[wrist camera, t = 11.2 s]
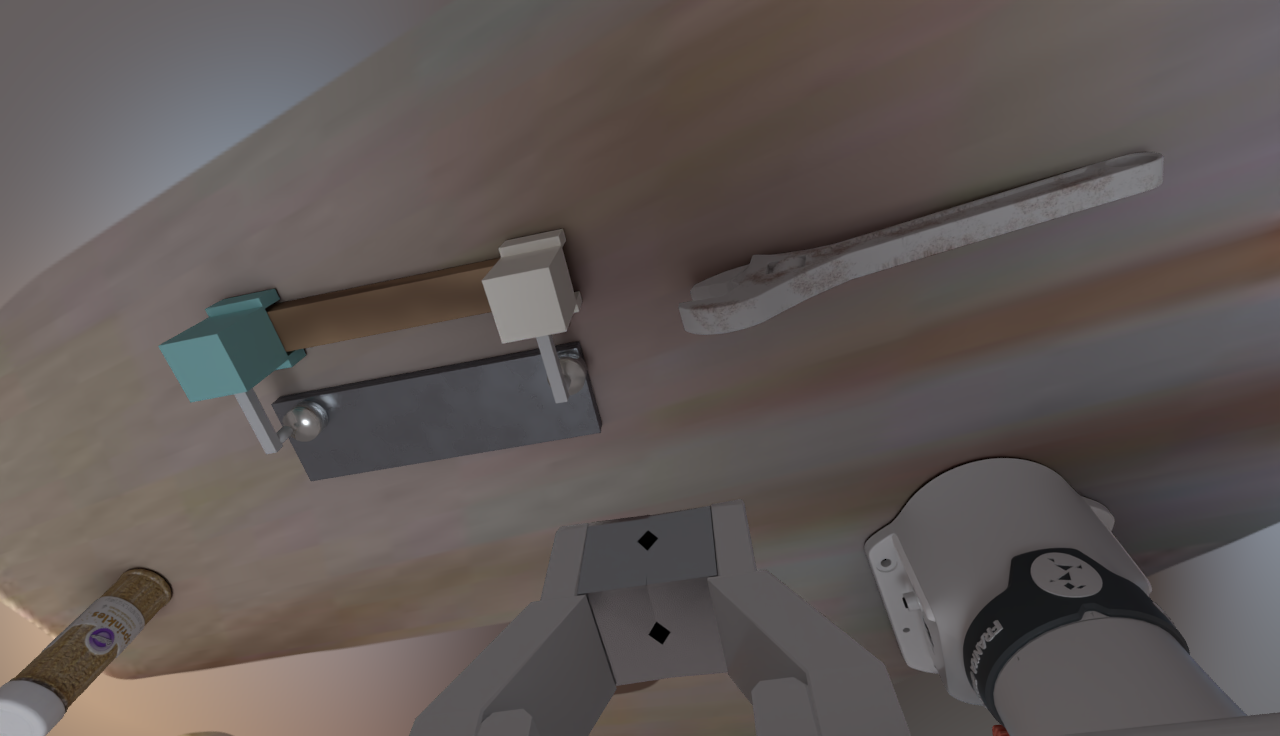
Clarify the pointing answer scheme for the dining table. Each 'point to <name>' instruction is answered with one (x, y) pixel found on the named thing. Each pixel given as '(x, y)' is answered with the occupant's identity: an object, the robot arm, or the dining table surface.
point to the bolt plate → (438, 413)
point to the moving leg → (233, 358)
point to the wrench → (906, 243)
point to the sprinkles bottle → (80, 654)
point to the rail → (382, 307)
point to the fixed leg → (534, 298)
